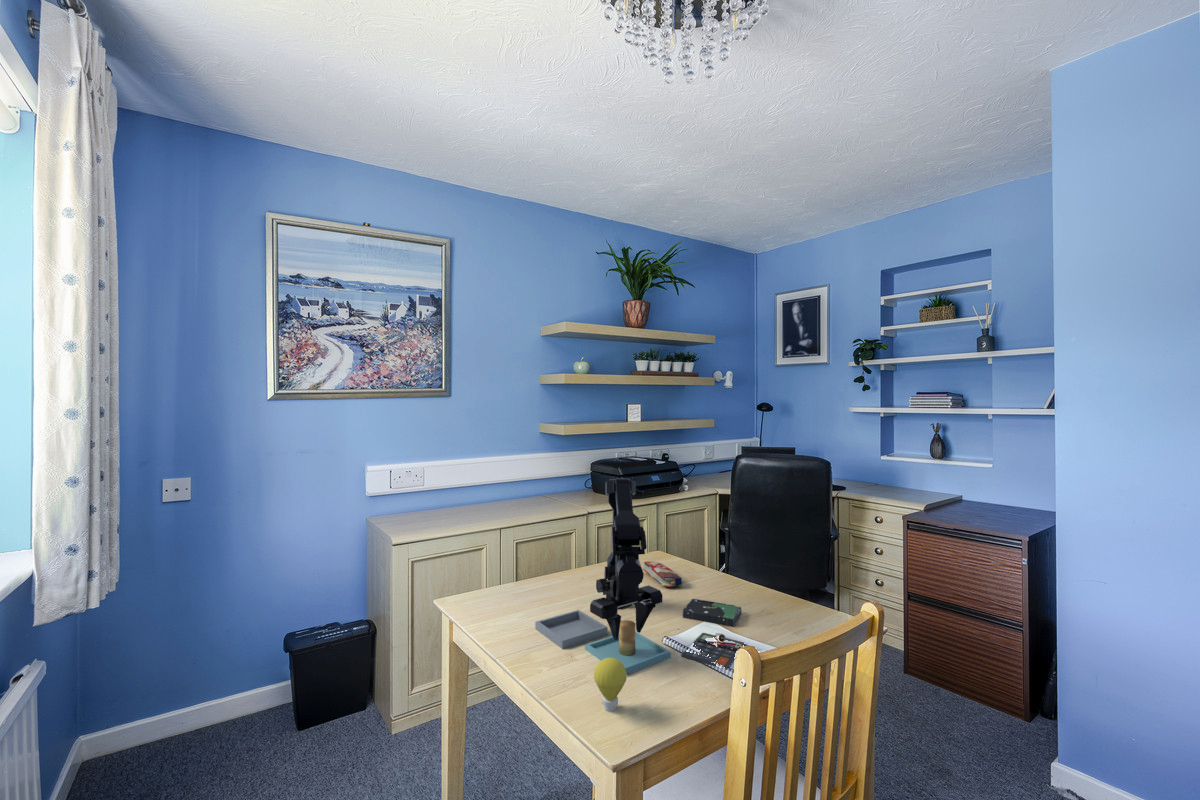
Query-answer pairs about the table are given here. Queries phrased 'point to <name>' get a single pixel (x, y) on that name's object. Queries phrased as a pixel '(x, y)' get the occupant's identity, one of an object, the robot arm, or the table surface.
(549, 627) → the shallow gray bin
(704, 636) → the calculator
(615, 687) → the light bulb
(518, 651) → the table surface
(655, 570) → the pencil case
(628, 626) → the wooden peg
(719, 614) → the disk drive
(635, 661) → the tray
